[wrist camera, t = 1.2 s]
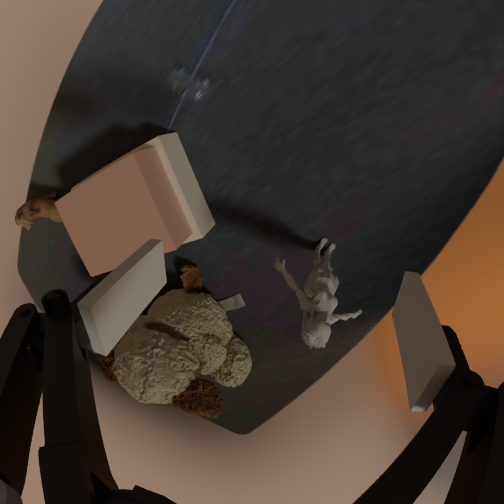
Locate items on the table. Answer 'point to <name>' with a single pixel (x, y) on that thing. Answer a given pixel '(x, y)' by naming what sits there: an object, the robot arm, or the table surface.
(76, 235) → the stacked block pedestal
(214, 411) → the dog
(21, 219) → the lion figurine
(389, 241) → the table surface
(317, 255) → the human figurine
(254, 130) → the table surface
